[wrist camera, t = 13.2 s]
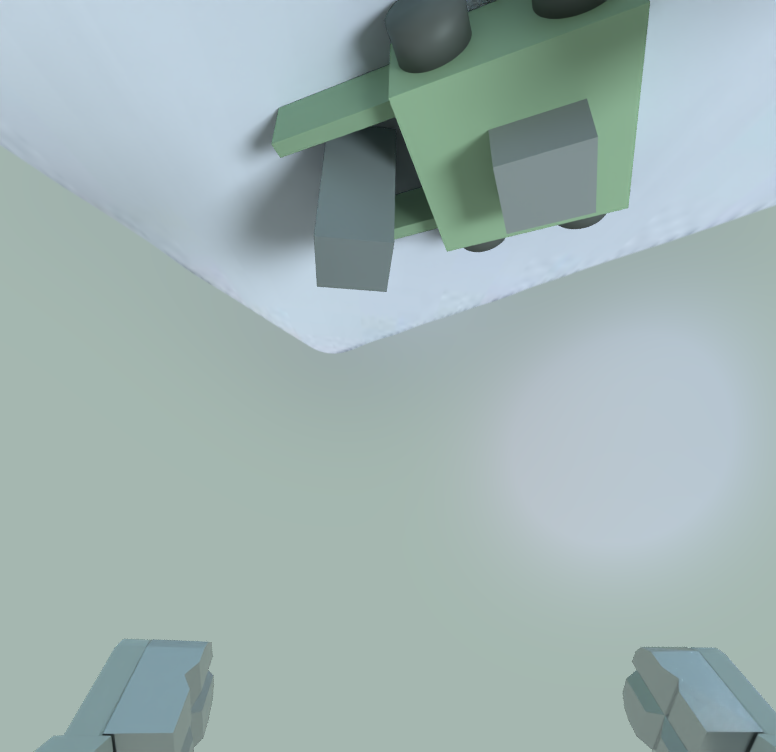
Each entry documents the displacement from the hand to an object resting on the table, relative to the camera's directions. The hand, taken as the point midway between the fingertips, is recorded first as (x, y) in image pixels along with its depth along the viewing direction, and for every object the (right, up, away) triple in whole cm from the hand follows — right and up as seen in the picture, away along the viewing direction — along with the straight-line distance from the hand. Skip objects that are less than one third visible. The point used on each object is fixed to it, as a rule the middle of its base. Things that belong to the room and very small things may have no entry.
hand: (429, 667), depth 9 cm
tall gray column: (-3, +21, +23) cm, 32 cm away
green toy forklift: (+3, +22, +21) cm, 31 cm away
